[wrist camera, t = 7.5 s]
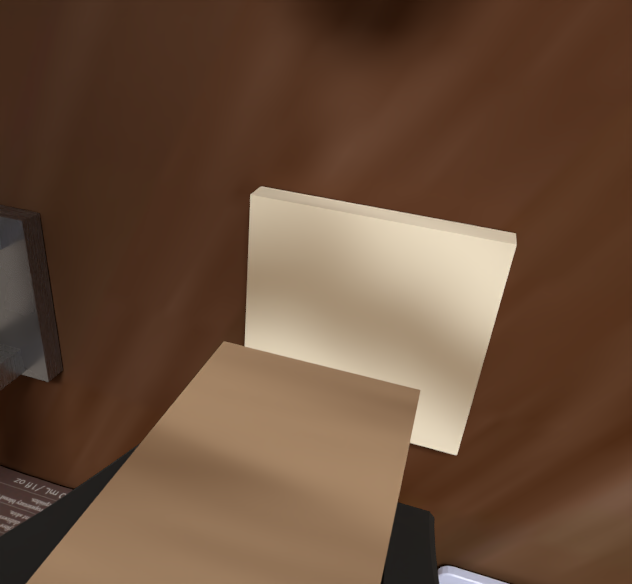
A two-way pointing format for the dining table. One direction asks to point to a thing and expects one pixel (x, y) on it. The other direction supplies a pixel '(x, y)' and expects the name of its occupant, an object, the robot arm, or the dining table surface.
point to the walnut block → (251, 482)
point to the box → (24, 497)
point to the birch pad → (378, 298)
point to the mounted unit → (25, 301)
